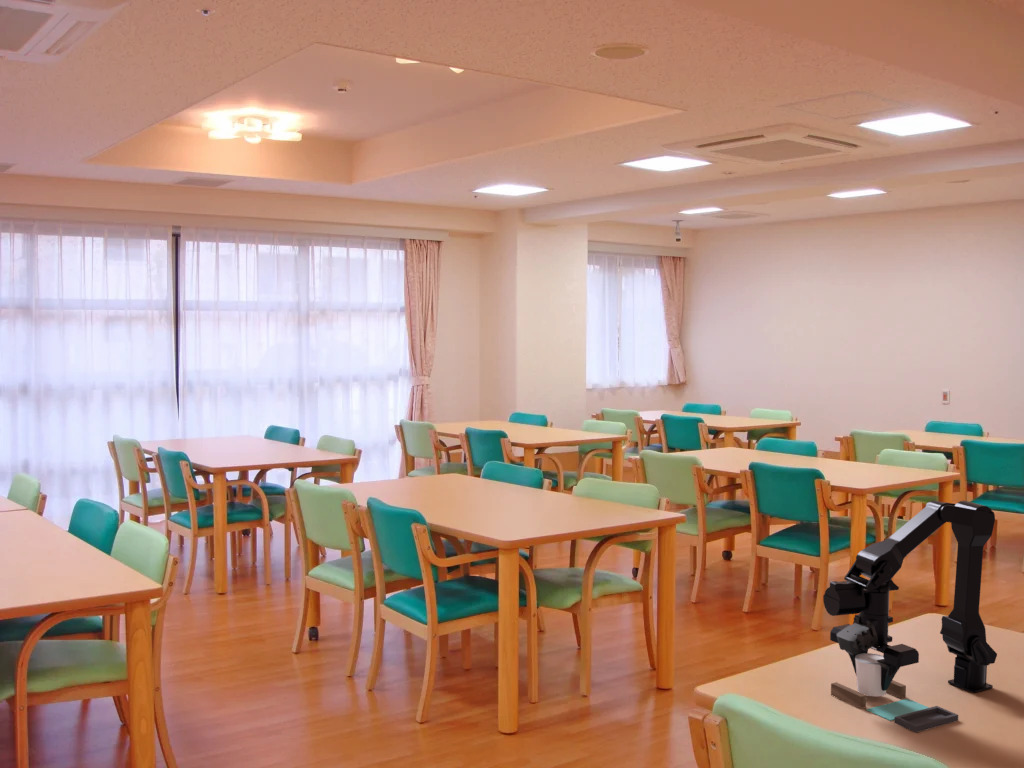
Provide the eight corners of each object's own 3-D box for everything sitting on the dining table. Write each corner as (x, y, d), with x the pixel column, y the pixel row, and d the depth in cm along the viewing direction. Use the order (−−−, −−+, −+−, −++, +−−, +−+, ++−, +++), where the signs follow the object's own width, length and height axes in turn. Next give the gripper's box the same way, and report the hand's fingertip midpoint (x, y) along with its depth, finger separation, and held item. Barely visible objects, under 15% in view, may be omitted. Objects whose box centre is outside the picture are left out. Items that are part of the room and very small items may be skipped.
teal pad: (907, 699, 202) (907, 698, 202) (932, 709, 197) (932, 708, 197) (866, 710, 197) (866, 709, 197) (890, 721, 192) (890, 720, 192)
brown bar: (875, 684, 211) (875, 673, 210) (905, 697, 204) (905, 685, 203) (830, 695, 205) (831, 683, 204) (860, 708, 198) (861, 696, 197)
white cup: (892, 698, 199) (893, 665, 199) (856, 696, 201) (857, 662, 200) (886, 686, 206) (887, 653, 205) (852, 683, 207) (852, 651, 207)
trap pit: (936, 711, 196) (936, 705, 196) (958, 720, 192) (958, 714, 192) (894, 723, 191) (894, 717, 191) (915, 732, 186) (915, 726, 186)
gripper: (811, 604, 207) (810, 676, 208) (882, 630, 190) (879, 708, 191) (850, 597, 212) (848, 668, 213) (921, 621, 195) (919, 697, 196)
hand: (871, 684), depth 203 cm, fingers closed on white cup, 6 cm apart
